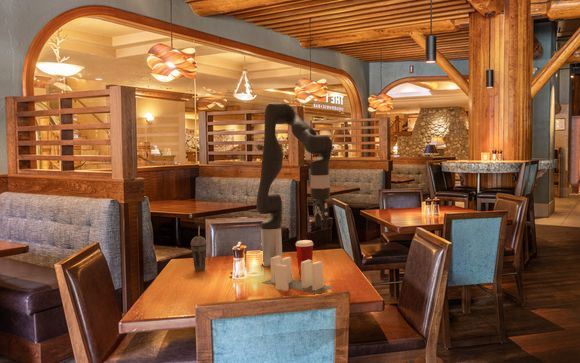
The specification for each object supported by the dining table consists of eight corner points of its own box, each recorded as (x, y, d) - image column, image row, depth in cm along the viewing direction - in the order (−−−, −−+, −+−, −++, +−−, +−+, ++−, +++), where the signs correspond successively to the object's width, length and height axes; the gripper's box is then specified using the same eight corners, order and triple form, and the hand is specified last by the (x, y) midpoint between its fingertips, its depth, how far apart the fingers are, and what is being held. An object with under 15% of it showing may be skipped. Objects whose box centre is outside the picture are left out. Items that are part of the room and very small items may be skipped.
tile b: (281, 284, 202) (280, 259, 201) (288, 281, 206) (287, 256, 205) (284, 284, 201) (283, 259, 200) (291, 281, 205) (291, 257, 204)
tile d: (301, 287, 196) (300, 262, 195) (309, 284, 200) (308, 259, 199) (305, 288, 195) (304, 262, 194) (312, 285, 199) (311, 260, 198)
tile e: (312, 289, 193) (311, 263, 192) (319, 286, 197) (319, 261, 196) (315, 290, 192) (315, 264, 191) (323, 287, 196) (322, 261, 195)
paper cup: (317, 272, 221) (316, 240, 219) (310, 276, 214) (309, 243, 212) (300, 271, 224) (299, 239, 223) (293, 275, 217) (292, 242, 216)
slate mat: (261, 284, 205) (261, 282, 205) (276, 278, 213) (276, 277, 213) (319, 295, 188) (319, 293, 188) (333, 288, 196) (333, 286, 196)
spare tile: (286, 292, 192) (285, 266, 192) (275, 290, 196) (274, 264, 195) (288, 291, 194) (287, 265, 193) (278, 289, 197) (277, 264, 196)
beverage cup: (188, 271, 230) (186, 227, 229) (197, 267, 237) (195, 224, 235) (202, 272, 228) (200, 228, 226) (211, 268, 234) (208, 225, 233)
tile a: (271, 282, 205) (270, 257, 204) (279, 279, 209) (278, 255, 208) (274, 283, 204) (273, 258, 203) (282, 280, 208) (281, 255, 207)
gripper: (306, 185, 206) (307, 225, 207) (316, 188, 192) (317, 231, 193) (323, 184, 208) (325, 224, 209) (335, 187, 194) (336, 229, 195)
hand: (321, 227), depth 201 cm, fingers open, 8 cm apart
